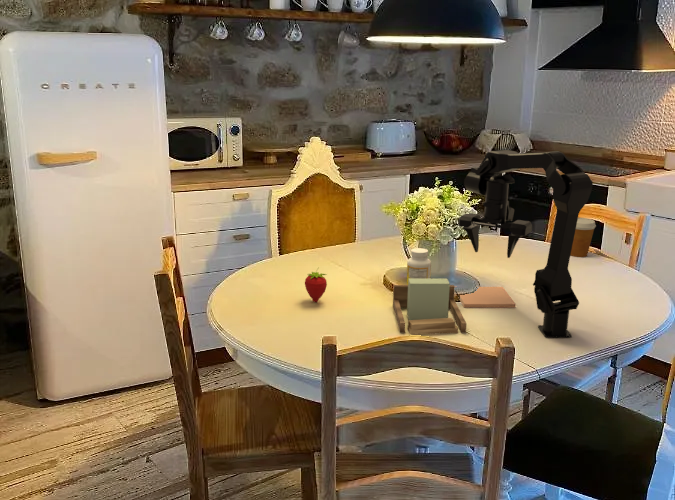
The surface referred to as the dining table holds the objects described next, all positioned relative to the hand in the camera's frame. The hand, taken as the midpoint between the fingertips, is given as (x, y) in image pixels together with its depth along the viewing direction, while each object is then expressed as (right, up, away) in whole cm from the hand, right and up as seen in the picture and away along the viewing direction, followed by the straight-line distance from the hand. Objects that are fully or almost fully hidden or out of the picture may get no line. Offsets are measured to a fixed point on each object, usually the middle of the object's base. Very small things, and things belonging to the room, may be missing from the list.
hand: (492, 254), depth 182 cm
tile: (-1, -12, +6) cm, 14 cm away
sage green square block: (-19, -16, -8) cm, 26 cm away
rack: (-19, -16, -8) cm, 26 cm away
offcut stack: (-19, -19, -16) cm, 31 cm away
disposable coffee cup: (+40, 0, +48) cm, 63 cm away
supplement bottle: (-19, -11, +10) cm, 24 cm away
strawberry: (-48, -13, +2) cm, 50 cm away
